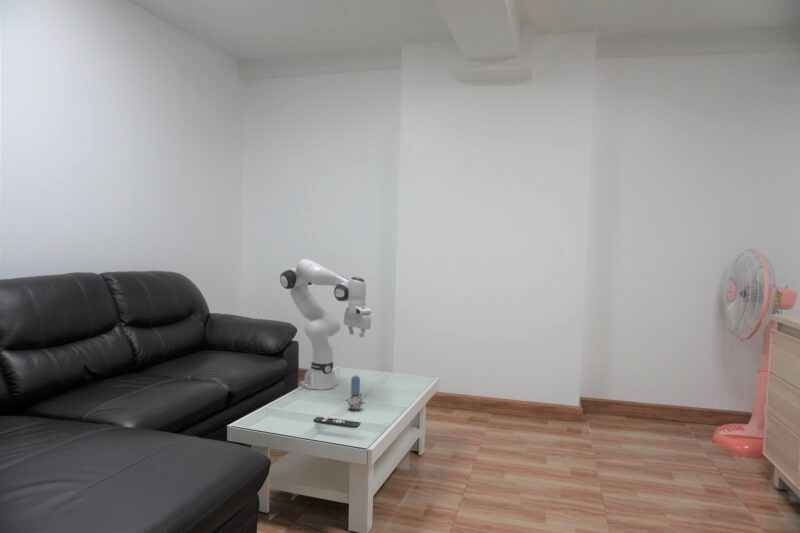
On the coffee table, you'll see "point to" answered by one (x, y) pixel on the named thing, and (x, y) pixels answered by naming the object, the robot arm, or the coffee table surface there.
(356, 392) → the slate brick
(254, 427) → the coffee table surface
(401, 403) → the coffee table surface
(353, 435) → the coffee table surface
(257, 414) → the coffee table surface
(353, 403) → the twenty-sided die
